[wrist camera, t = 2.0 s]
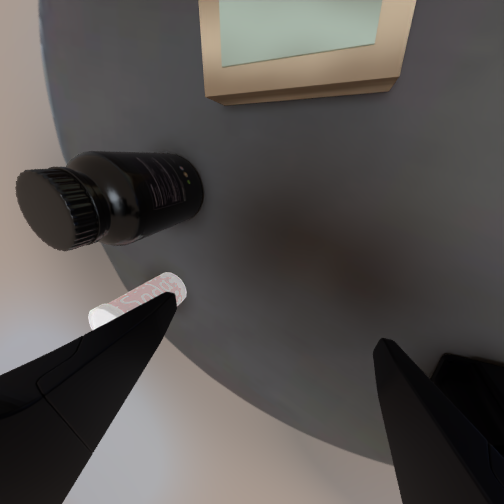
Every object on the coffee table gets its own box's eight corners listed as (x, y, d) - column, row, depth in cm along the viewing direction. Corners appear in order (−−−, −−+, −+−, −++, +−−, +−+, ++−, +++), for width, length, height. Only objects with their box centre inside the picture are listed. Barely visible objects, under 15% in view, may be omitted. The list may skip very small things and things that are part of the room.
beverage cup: (200, 295, 28) (91, 400, 16) (175, 312, 31) (69, 411, 19) (168, 258, 27) (31, 338, 15) (147, 279, 30) (19, 359, 18)
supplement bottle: (173, 229, 25) (56, 278, 15) (141, 174, 24) (-12, 186, 13) (217, 204, 22) (106, 245, 11) (182, 138, 20) (21, 118, 10)
